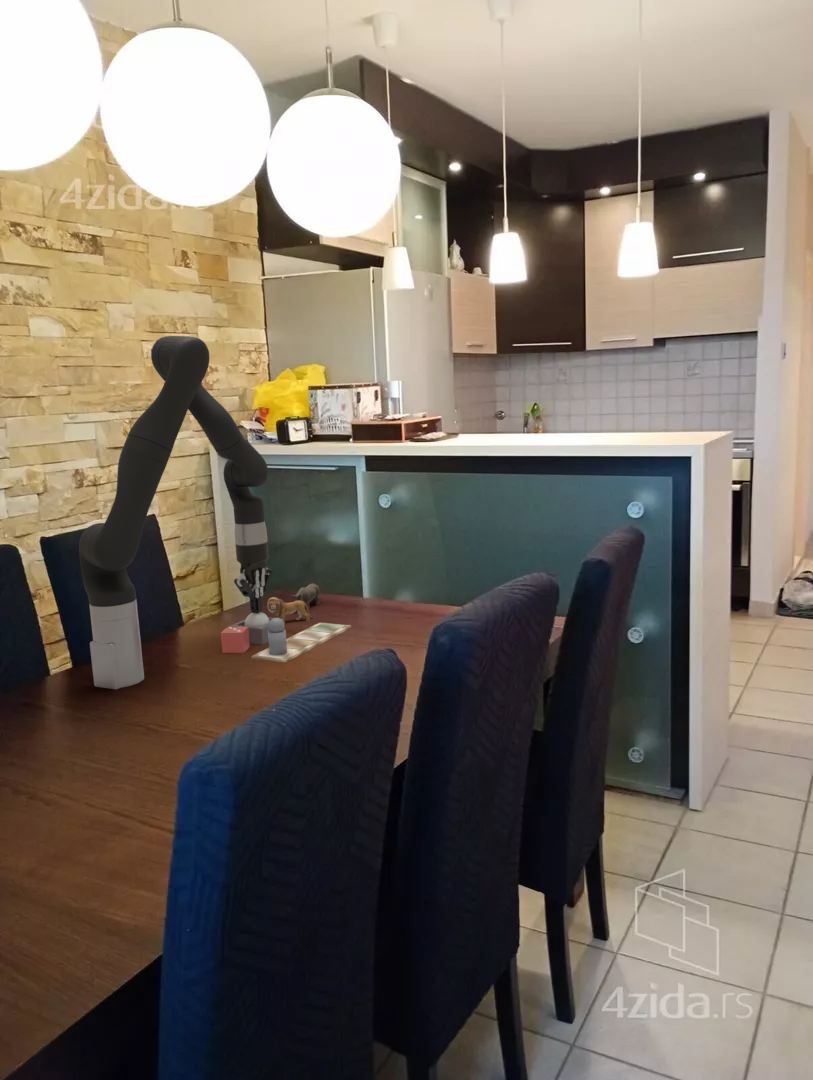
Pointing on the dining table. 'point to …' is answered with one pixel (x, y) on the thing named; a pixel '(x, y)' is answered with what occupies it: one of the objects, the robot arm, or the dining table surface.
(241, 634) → the die
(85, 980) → the dining table surface
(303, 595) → the rhino figurine
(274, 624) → the pawn
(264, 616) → the dome
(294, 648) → the board
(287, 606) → the lion figurine
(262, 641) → the dome collar
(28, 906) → the dining table surface
